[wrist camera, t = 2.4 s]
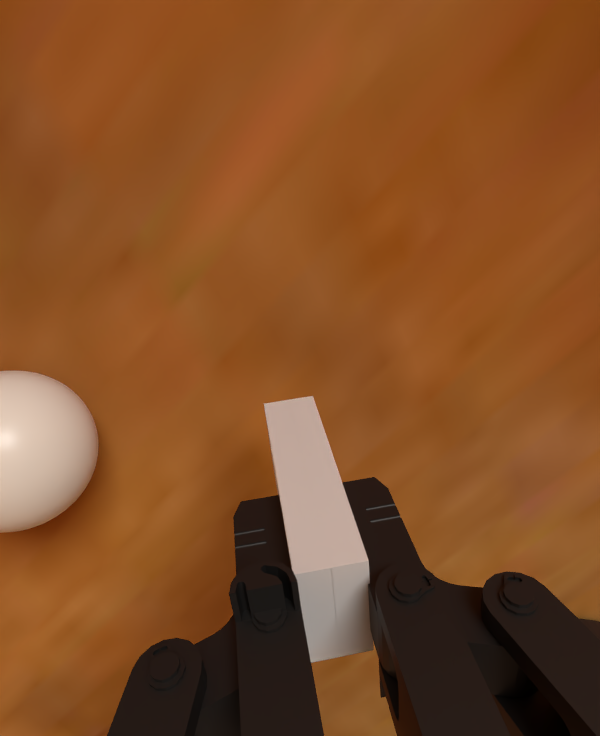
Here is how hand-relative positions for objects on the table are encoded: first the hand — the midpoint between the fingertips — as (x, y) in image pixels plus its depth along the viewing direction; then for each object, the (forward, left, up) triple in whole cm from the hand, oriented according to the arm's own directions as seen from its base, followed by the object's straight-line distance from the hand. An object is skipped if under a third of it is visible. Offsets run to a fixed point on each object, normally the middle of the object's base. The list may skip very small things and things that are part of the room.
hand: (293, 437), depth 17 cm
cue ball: (-1, +9, -3) cm, 10 cm away
